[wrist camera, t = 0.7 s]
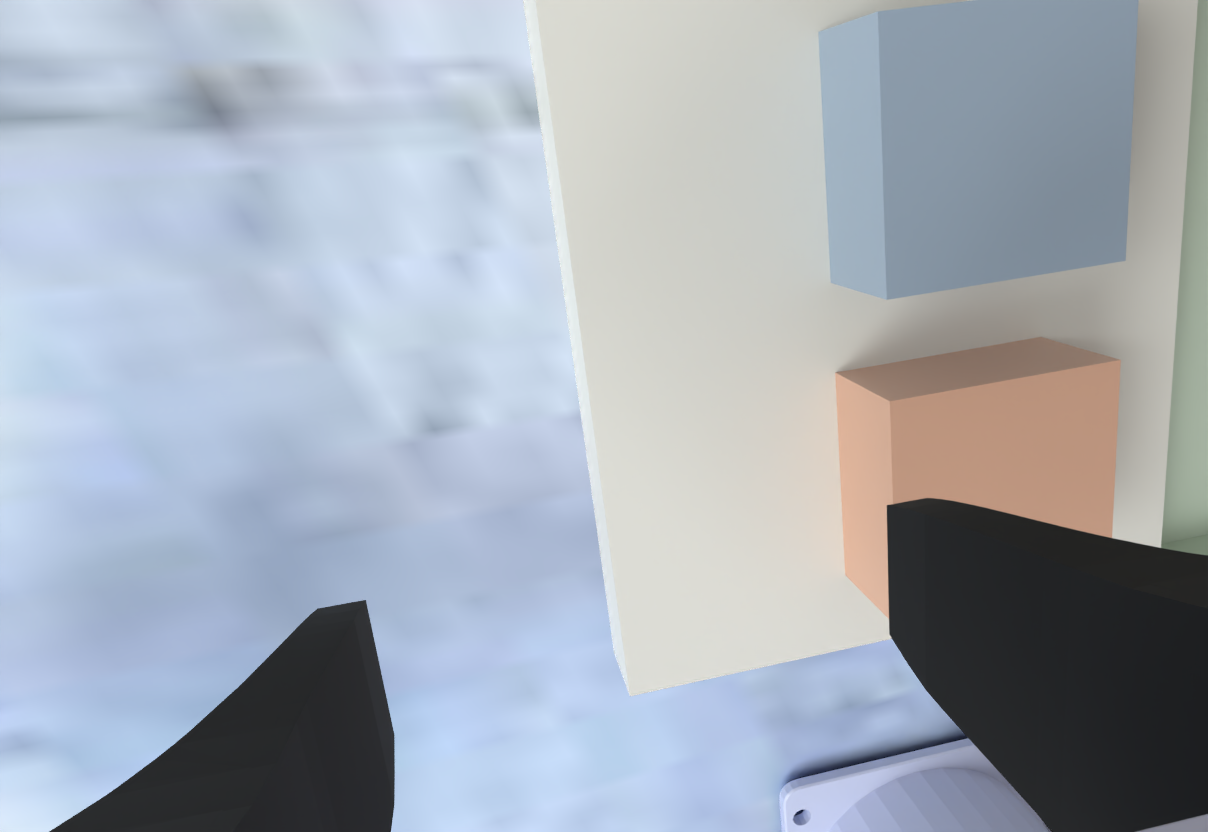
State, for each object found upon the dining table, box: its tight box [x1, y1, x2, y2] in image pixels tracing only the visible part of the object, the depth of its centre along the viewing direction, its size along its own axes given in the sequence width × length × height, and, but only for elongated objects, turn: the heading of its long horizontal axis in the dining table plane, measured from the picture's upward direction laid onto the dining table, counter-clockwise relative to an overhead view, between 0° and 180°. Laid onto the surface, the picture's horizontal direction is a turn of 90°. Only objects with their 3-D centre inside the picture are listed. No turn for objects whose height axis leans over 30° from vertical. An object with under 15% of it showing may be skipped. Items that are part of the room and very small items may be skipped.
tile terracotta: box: [835, 337, 1121, 619], centre depth 19 cm, size 5×5×2 cm
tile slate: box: [818, 0, 1138, 300], centre depth 17 cm, size 5×5×2 cm
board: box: [523, 0, 1198, 696], centre depth 20 cm, size 16×14×2 cm
